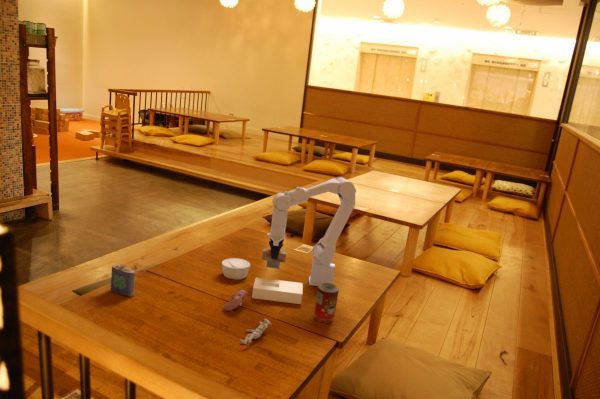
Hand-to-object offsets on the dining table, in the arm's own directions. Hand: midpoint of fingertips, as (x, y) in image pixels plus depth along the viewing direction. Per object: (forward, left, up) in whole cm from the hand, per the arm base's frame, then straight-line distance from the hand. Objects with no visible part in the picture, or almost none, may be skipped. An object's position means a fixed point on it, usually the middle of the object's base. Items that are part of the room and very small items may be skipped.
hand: (274, 257), depth 186 cm
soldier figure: (+2, +44, -11) cm, 45 cm away
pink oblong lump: (+11, +25, -11) cm, 29 cm away
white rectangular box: (-3, +12, -10) cm, 16 cm away
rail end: (0, 0, -4) cm, 4 cm away
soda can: (-20, +26, -11) cm, 34 cm away
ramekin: (+15, -2, -11) cm, 19 cm away
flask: (+50, +26, -11) cm, 57 cm away
